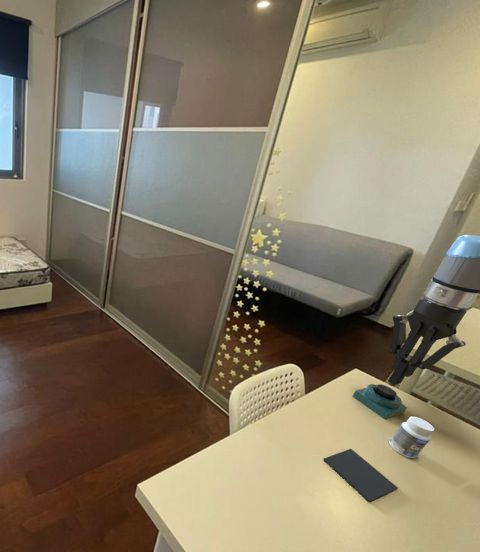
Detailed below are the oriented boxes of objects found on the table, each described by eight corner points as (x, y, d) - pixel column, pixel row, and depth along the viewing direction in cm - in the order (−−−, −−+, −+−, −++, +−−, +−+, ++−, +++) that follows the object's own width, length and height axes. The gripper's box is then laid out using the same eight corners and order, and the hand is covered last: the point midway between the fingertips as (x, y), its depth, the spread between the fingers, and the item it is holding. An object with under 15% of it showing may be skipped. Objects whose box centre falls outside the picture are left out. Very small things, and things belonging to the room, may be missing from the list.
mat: (397, 489, 64) (398, 487, 64) (369, 502, 61) (370, 501, 61) (350, 449, 72) (351, 448, 71) (323, 459, 68) (324, 458, 68)
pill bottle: (407, 460, 70) (427, 434, 67) (383, 442, 75) (402, 416, 71) (421, 457, 72) (442, 430, 68) (397, 438, 76) (416, 413, 72)
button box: (403, 413, 84) (411, 402, 82) (384, 419, 81) (392, 408, 80) (369, 391, 91) (376, 380, 89) (351, 396, 88) (358, 385, 86)
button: (396, 399, 84) (400, 393, 83) (387, 401, 82) (391, 396, 81) (379, 388, 87) (382, 383, 86) (370, 390, 86) (373, 385, 85)
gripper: (400, 290, 77) (357, 368, 87) (475, 319, 66) (416, 404, 76) (418, 288, 80) (374, 364, 89) (493, 315, 69) (434, 398, 78)
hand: (394, 382), depth 82 cm, fingers closed
